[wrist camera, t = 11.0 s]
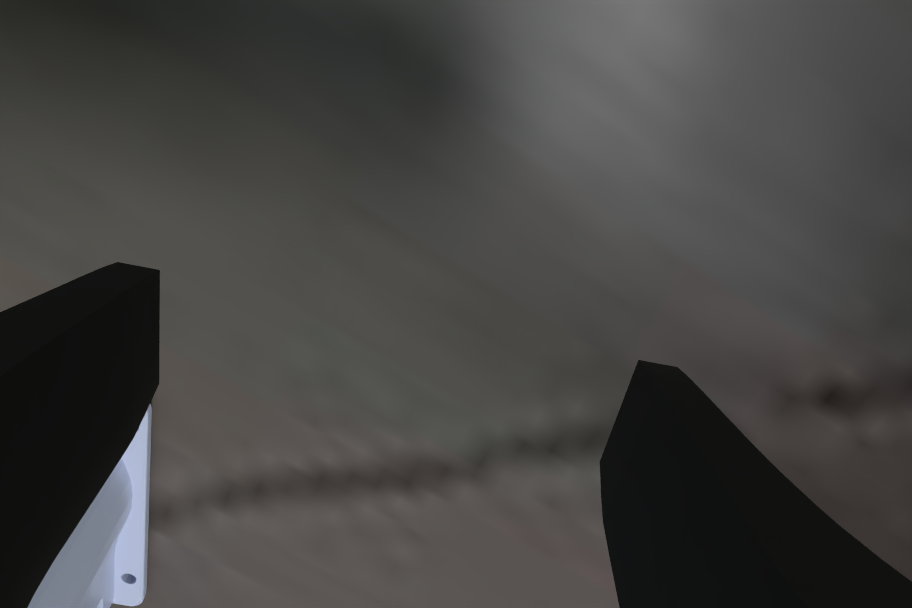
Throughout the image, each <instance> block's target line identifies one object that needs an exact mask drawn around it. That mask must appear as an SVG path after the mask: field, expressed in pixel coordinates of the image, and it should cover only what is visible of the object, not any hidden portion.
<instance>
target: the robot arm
mask: <svg viewBox="0 0 912 608" xmlns="http://www.w3.org/2000/svg"><path fill="white" fill-rule="evenodd" d="M159 303H160V270H156V269H151V268H146V267H141V266H135V265H130V264H125V263H119V262H117V263H114V264H111V265H108V266H105V267H103V268H100V269H98V270H95V271H93V272H91V273H88V274H86V275H84V276H81V277H79V278H77V279H75V280H72V281H70V282H68V283H66V284H63V285H61V286H59V287H57V288H55V289H52V290H50V291H48V292H46V293H43V294H41V295H39V296H36V297H34V298H32V299H30V300H27V301H25V302H23V303H20V304H18V305H16V306H14V307H11V308H9V309H7V310H4V311H2V312H0V608H110V606H111V604H112V603H115V604H121V605H127V606H136V605H139V604H140V603H142V601H143V599H144V597H145V595H146V591H147V556H148V521H149V486H150V452H151V417H152V408H151V404H150V402H151V400H152V398H153V396H154V393H155V391H156V389H157V387H158V385H159ZM600 477H601V499H602V514H603V524H604V529H605V535H606V540H607V545H608V551H609V556H610V561H611V566H612V571H613V576H614V581H615V586H616V591H617V596H618V601H619V606H620V608H912V581H910V580H909V579H907V578H906V577H905V576H903V575H902V574H901V573H899V572H898V571H897V570H895V569H894V568H892V567H891V566H890V565H888V564H887V563H886V562H884V561H883V560H882V559H881V558H879V557H878V556H877V555H876V554H874V553H873V552H872V551H871V550H869V549H868V548H867V547H866V546H864V545H863V544H862V543H861V542H859V541H858V540H857V539H856V538H854V537H853V536H852V535H851V534H849V533H848V532H847V531H846V530H844V529H843V528H842V527H841V526H839V525H838V524H837V523H836V522H835V521H834V520H832V519H831V518H830V517H829V516H828V515H827V514H825V513H824V512H823V511H822V510H821V509H820V508H819V507H818V506H816V505H815V504H814V503H813V502H812V501H811V500H810V499H809V498H808V497H807V496H806V495H805V494H803V493H802V492H801V491H800V490H799V489H798V488H797V487H796V486H795V485H794V484H793V483H792V482H791V481H789V480H788V479H787V478H786V477H785V476H784V475H783V474H782V473H781V472H780V471H779V470H778V469H777V468H776V467H775V466H774V465H773V464H772V463H771V462H770V461H769V460H768V459H767V458H766V457H765V456H764V455H763V454H762V453H761V452H760V451H759V450H758V449H757V448H756V447H755V446H754V445H753V444H752V443H751V442H750V441H749V440H748V439H747V438H746V437H745V436H744V435H743V434H742V433H741V432H740V430H739V429H738V428H737V427H736V426H735V425H734V424H733V423H732V422H731V421H730V420H729V419H728V418H727V417H726V416H725V415H724V414H723V413H722V411H721V410H720V409H719V408H718V407H717V406H716V405H715V404H714V403H713V402H712V401H711V400H710V399H709V398H708V397H707V396H706V395H705V394H704V392H703V391H702V390H701V389H700V388H699V387H698V386H697V385H696V384H695V383H694V382H693V381H692V380H691V379H690V378H689V377H688V376H687V375H686V374H685V373H683V372H682V371H681V370H680V369H679V368H678V367H673V366H668V365H663V364H657V363H652V362H647V361H641V360H638V363H637V366H636V368H635V371H634V373H633V376H632V379H631V381H630V384H629V387H628V389H627V392H626V394H625V397H624V400H623V402H622V405H621V408H620V410H619V413H618V416H617V418H616V421H615V423H614V426H613V429H612V431H611V434H610V437H609V439H608V442H607V444H606V447H605V450H604V452H603V455H602V458H601V460H600Z"/></svg>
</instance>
